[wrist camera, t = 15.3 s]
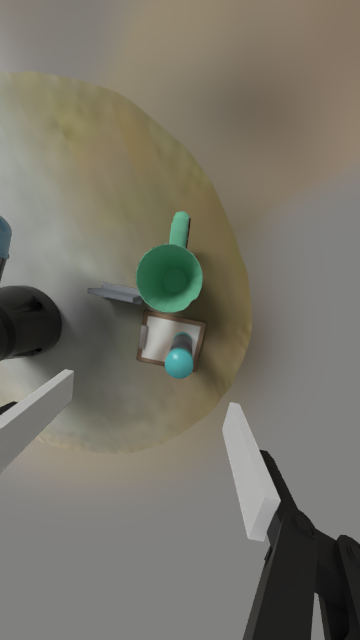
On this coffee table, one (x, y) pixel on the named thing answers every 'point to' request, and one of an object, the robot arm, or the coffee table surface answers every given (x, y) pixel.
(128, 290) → the gray bookend
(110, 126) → the coffee table surface
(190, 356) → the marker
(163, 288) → the mug
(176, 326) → the clipboard
